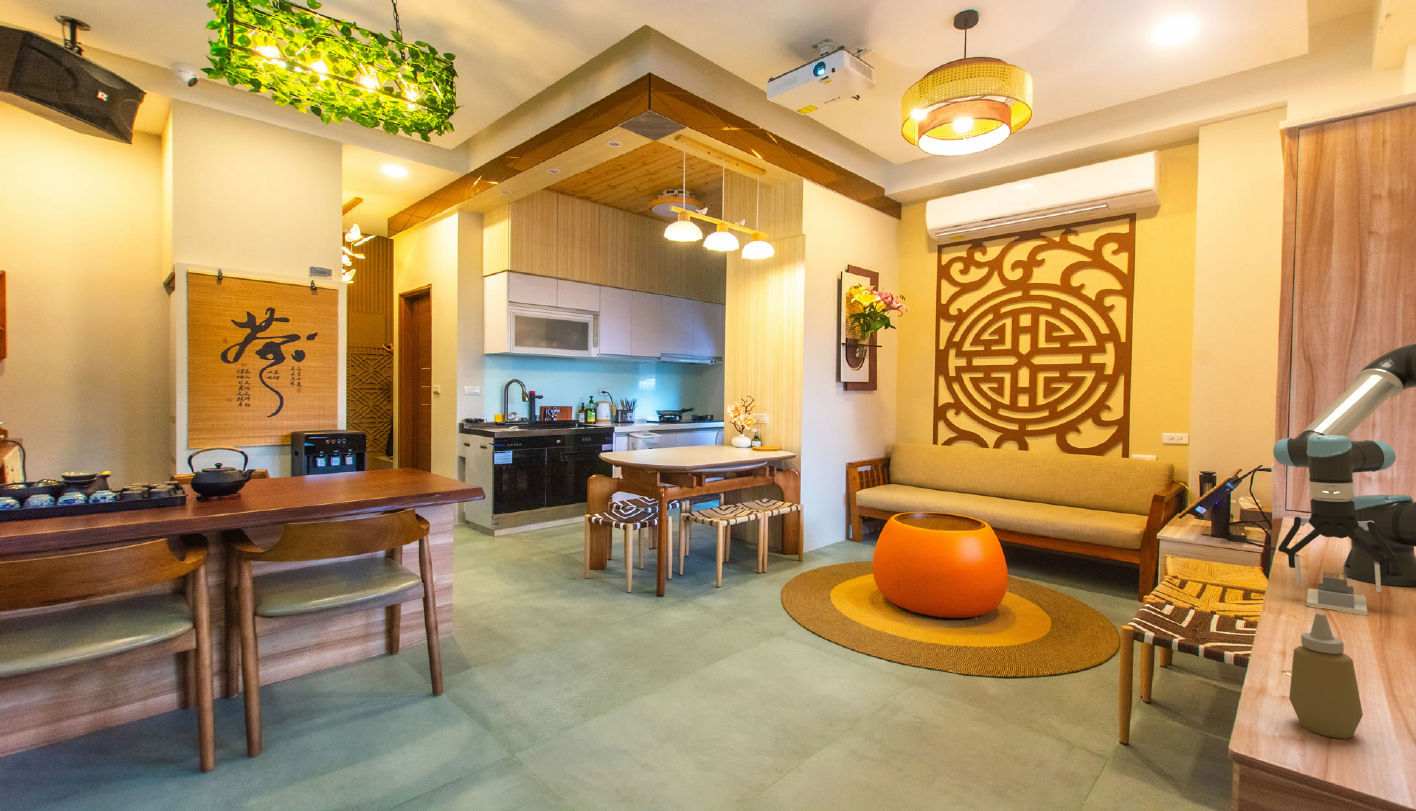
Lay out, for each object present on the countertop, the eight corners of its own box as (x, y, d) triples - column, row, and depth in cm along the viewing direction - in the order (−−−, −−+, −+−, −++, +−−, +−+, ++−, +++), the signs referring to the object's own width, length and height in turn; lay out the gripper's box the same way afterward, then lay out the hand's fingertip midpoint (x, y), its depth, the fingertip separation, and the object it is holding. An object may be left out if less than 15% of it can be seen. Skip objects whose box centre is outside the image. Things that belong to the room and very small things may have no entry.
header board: (1308, 592, 158) (1308, 576, 158) (1365, 600, 151) (1364, 583, 151) (1306, 606, 148) (1306, 589, 148) (1367, 615, 141) (1366, 597, 141)
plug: (1324, 596, 151) (1323, 571, 151) (1347, 599, 148) (1346, 574, 148) (1323, 602, 147) (1322, 576, 147) (1347, 605, 144) (1346, 579, 144)
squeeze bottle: (1380, 743, 91) (1374, 622, 91) (1325, 744, 91) (1320, 624, 91) (1326, 715, 99) (1321, 605, 99) (1276, 717, 99) (1271, 607, 99)
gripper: (1261, 497, 155) (1266, 580, 154) (1411, 505, 137) (1416, 599, 136) (1264, 493, 160) (1268, 574, 160) (1408, 500, 142) (1413, 590, 142)
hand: (1337, 585), depth 148 cm, fingers open, 13 cm apart
